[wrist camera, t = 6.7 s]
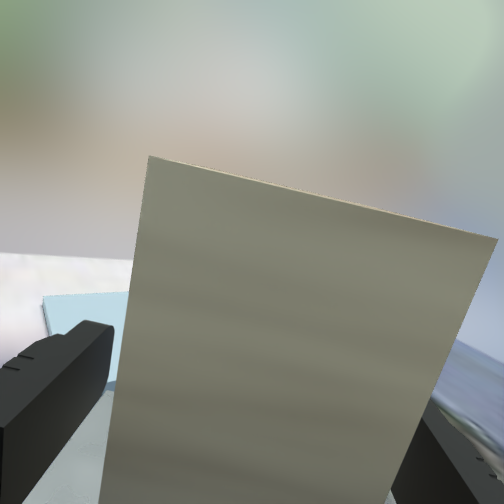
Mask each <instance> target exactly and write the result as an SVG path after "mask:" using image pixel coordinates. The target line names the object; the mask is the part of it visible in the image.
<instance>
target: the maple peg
mask: <svg viewBox="0 0 504 504" xmlns="http://www.w3.org/2000/svg"><path fill="white" fill-rule="evenodd" d="M497 241H498V239H496V238H492V237H488V236H484V235H480V234H476V233H472V232H468V231H464V230H460V229H456V228H452V227H449V226H445V225H441V224H437V223H433V222H429V221H425V220H421V219H417V218H413V217H409V216H406V215H402V214H398V213H394V212H390V211H386V210H382V209H378V208H374V207H370V206H366V205H362V204H358V203H354V202H349V201H345V200H341V199H337V198H333V197H329V196H324V195H320V194H316V193H312V192H308V191H303V190H299V189H295V188H291V187H287V186H282V185H278V184H274V183H270V182H265V181H262V180H258V179H253V178H249V177H245V176H241V175H236V174H233V173H228V172H224V171H220V170H215V169H212V168H207V167H202V166H197V165H193V164H188V163H183V162H178V161H173V160H168V159H163V158H159V157H154V156H149V159H148V166H147V172H146V180H145V186H144V192H143V199H142V207H141V213H140V220H139V227H138V234H137V240H136V248H135V255H134V261H133V268H132V275H131V281H130V288H129V295H128V302H127V309H126V316H125V323H124V329H123V336H122V343H121V350H120V357H119V364H118V370H117V377H116V384H115V391H114V398H113V405H112V412H111V418H110V425H109V432H108V439H107V446H106V453H105V459H104V466H103V473H102V480H101V487H100V494H99V501H98V504H384V503H385V500H386V498H387V496H388V493H389V491H390V489H391V486H392V484H393V482H394V480H395V477H396V475H397V473H398V470H399V468H400V466H401V463H402V461H403V459H404V456H405V454H406V452H407V449H408V447H409V445H410V443H411V440H412V438H413V436H414V433H415V431H416V429H417V426H418V424H419V422H420V419H421V417H422V415H423V412H424V410H425V408H426V406H427V403H428V401H429V399H430V396H431V394H432V392H433V389H434V387H435V385H436V382H437V380H438V378H439V376H440V373H441V371H442V369H443V366H444V364H445V362H446V359H447V357H448V355H449V352H450V350H451V348H452V345H453V343H454V341H455V339H456V336H457V334H458V332H459V329H460V327H461V325H462V322H463V320H464V318H465V315H466V313H467V311H468V308H469V306H470V304H471V302H472V299H473V297H474V295H475V292H476V290H477V288H478V285H479V283H480V281H481V278H482V276H483V274H484V271H485V269H486V267H487V264H488V262H489V260H490V258H491V255H492V253H493V251H494V248H495V246H496V244H497Z"/></svg>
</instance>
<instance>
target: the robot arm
mask: <svg viewBox="0 0 504 504" xmlns="http://www.w3.org/2000/svg"><path fill="white" fill-rule="evenodd" d="M114 334H115V330H114V327H113V326H112V325H108V324H103V323H99V322H94V321H90V320H83V321H81V322H80V323H79V324H77V325H76V326H75V327H74V328H72V329H71V330H70V331H69V332H67V333H66V334H65V335H63V334H58V333H57V334H54V335H52V336H49V337H47V338H44V339H41V340H39V341H36V342H34V343H33V344H32V345H30V346H29V347H27V348H26V349H25V350H23V351H22V352H21V353H19V354H18V356H17V357H14V358H12V359H11V360H9V361H8V362H7V363H5V364H4V365H3V366H2V368H1V369H0V504H22V502H23V501H24V500H25V498H26V497H27V496H28V494H29V493H30V492H31V490H32V489H33V488H34V486H35V485H36V483H37V482H38V481H39V479H40V478H41V477H42V475H43V474H44V473H45V471H46V470H47V469H48V467H49V466H50V465H51V463H52V462H53V461H54V459H55V458H56V456H57V455H58V454H59V452H60V451H61V450H62V448H63V447H64V446H65V444H66V443H67V442H68V440H69V439H70V438H71V436H72V435H73V433H74V432H75V431H76V429H77V428H78V427H79V425H80V424H81V423H82V421H83V420H84V419H85V417H86V416H87V415H88V413H89V412H90V411H91V409H92V408H93V406H94V405H95V404H96V402H97V401H98V400H99V398H100V397H101V395H102V393H103V391H104V389H105V386H106V383H107V380H108V377H109V371H110V363H111V356H112V349H113V342H114ZM483 460H484V459H483V457H482V456H481V455H480V454H479V452H478V451H477V450H476V449H475V447H474V446H473V445H472V444H471V442H470V441H469V440H468V439H467V438H466V437H465V436H464V435H463V434H461V433H460V432H459V431H458V430H457V429H456V428H455V427H454V426H452V425H451V424H450V423H449V422H448V421H447V419H446V418H445V417H444V416H443V414H442V413H441V412H440V410H439V409H438V408H437V406H436V405H435V404H434V402H433V401H432V400H431V399H429V401H428V403H427V406H426V408H425V410H424V412H423V415H422V417H421V419H420V422H419V424H418V426H417V429H416V431H415V433H414V436H413V438H412V440H411V443H410V445H409V447H408V449H407V452H406V454H405V456H404V459H403V461H402V463H401V466H400V468H399V470H398V473H397V475H396V477H395V480H394V482H393V484H392V486H391V491H392V494H393V496H394V499H395V501H396V504H504V484H503V483H502V482H501V480H498V479H497V475H496V474H495V473H494V471H493V470H492V469H491V468H490V466H489V465H488V464H487V463H485V462H484V461H483Z"/></svg>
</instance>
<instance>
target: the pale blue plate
mask: <svg viewBox="0 0 504 504" xmlns="http://www.w3.org/2000/svg"><path fill="white" fill-rule="evenodd" d="M128 295H129V292H112V293H93V294H74V295H56V296H43V309H44V314H45V318H46V323H47V327H48V332H49V336H52V335H54V334H57V333H58V334H63V335H65V334H66V333H67V332H69V331H70V330H71V329H72V328H74V327H75V326H76V325H77V324H79V323H80V322H81V321H83V320H90V321H94V322H99V323H103V324H108V325H112V326H113V327H114V330H115V334H114V342H113V349H112V356H111V363H110V371H109V377H108V380H107V383H106V386H105V389H104V391H103V393H102V395H103V394H104V393H105V392H106V390H109V391H115V384H116V377H117V370H118V364H119V357H120V350H121V343H122V336H123V329H124V323H125V316H126V309H127V302H128Z"/></svg>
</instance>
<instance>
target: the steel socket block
mask: <svg viewBox="0 0 504 504" xmlns="http://www.w3.org/2000/svg"><path fill="white" fill-rule="evenodd" d="M113 398H114V391H109V390H106V392H105V393H104V394H103V396H102V397H101V398H100V400H99V401H98V402H97V404H96V405H95V406H94V408H93V409H92V410H91V412H90V413H89V415H88V416H87V417H86V419H85V420H84V421H83V423H82V424H81V425H80V427H79V428H78V429H77V431H76V432H75V433H74V435H73V436H72V437H71V439H70V440H69V442H68V443H67V444H66V446H65V447H64V448H63V450H62V451H61V452H60V454H59V455H58V456H57V458H56V459H55V460H54V462H53V463H52V464H51V466H50V467H49V469H48V470H47V471H46V473H45V474H44V475H43V477H42V478H41V479H40V481H39V482H38V483H37V485H36V486H35V487H34V489H33V490H32V491H31V493H30V494H29V495H28V497H27V498H26V500H25V501H24V502H23V504H98V501H99V494H100V487H101V480H102V473H103V466H104V459H105V453H106V446H107V439H108V432H109V425H110V418H111V412H112V405H113Z"/></svg>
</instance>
